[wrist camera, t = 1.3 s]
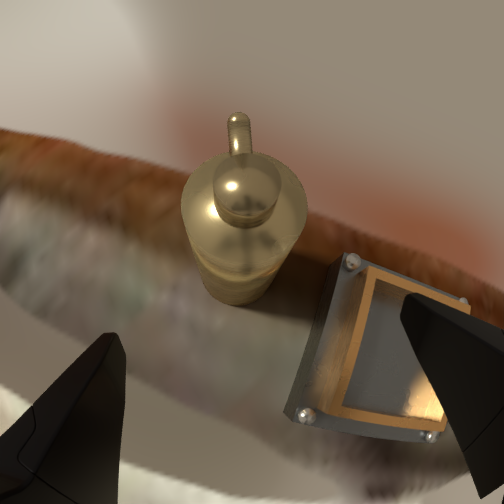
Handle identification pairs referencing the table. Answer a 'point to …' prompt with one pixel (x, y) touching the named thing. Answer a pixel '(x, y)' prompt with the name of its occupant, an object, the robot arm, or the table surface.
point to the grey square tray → (367, 358)
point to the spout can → (242, 217)
